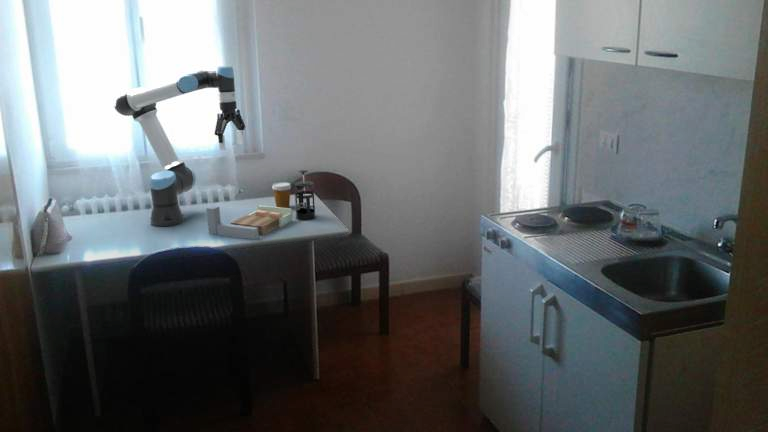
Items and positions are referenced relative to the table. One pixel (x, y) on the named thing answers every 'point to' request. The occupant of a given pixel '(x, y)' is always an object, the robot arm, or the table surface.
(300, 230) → the table surface
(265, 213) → the tile
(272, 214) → the tile
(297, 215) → the french press
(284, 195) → the disposable coffee cup
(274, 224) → the brown wooden board
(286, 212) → the tray
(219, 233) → the scraper
